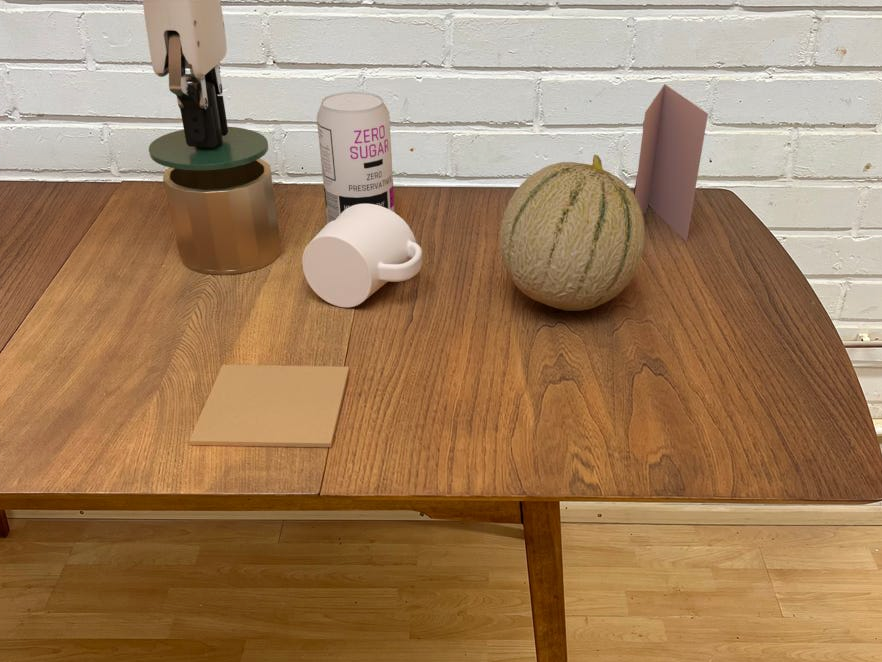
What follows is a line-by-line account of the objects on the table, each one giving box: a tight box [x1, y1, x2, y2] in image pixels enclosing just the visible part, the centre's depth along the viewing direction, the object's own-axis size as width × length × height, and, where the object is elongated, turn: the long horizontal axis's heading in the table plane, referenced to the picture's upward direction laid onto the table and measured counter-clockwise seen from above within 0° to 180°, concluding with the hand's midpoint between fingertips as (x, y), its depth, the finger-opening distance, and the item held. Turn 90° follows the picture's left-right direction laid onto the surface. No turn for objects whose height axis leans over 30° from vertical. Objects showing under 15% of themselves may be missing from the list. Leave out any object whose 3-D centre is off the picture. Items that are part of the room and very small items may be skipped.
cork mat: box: [188, 364, 350, 448], centre depth 80 cm, size 12×12×1 cm
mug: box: [301, 204, 423, 308], centre depth 94 cm, size 12×9×8 cm
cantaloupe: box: [499, 154, 646, 312], centre depth 91 cm, size 15×15×15 cm
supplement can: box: [316, 91, 396, 224], centre depth 104 cm, size 8×8×15 cm
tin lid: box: [148, 82, 269, 170], centre depth 94 cm, size 12×12×7 cm
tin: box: [162, 158, 282, 276], centre depth 101 cm, size 11×11×10 cm
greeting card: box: [633, 83, 709, 243], centre depth 106 cm, size 11×7×15 cm, turn 160°
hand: (207, 138), depth 95 cm, fingers closed on tin lid, 3 cm apart
